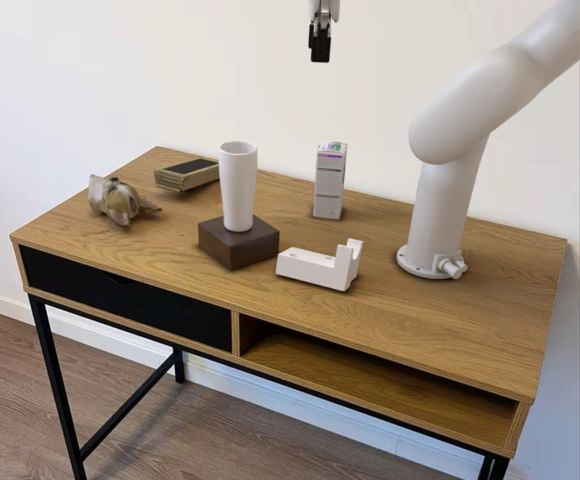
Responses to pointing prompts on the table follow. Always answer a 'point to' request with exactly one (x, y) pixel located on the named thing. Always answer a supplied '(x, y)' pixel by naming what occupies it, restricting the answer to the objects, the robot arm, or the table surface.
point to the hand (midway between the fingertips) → (318, 55)
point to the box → (186, 174)
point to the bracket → (322, 265)
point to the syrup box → (329, 179)
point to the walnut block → (238, 242)
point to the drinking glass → (238, 183)
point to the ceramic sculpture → (117, 200)
